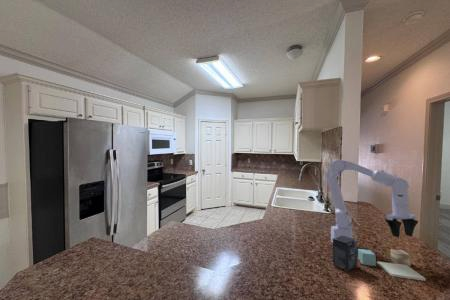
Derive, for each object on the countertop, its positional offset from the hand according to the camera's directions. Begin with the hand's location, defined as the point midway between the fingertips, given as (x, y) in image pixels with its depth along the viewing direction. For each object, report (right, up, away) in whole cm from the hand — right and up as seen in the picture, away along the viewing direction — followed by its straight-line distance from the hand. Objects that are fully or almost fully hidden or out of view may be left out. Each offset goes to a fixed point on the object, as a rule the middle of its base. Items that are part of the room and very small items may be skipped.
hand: (402, 236), depth 85 cm
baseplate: (-12, -8, -12) cm, 19 cm away
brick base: (-5, -9, -5) cm, 12 cm away
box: (-31, -8, -9) cm, 34 cm away
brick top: (-20, -9, -6) cm, 22 cm away
